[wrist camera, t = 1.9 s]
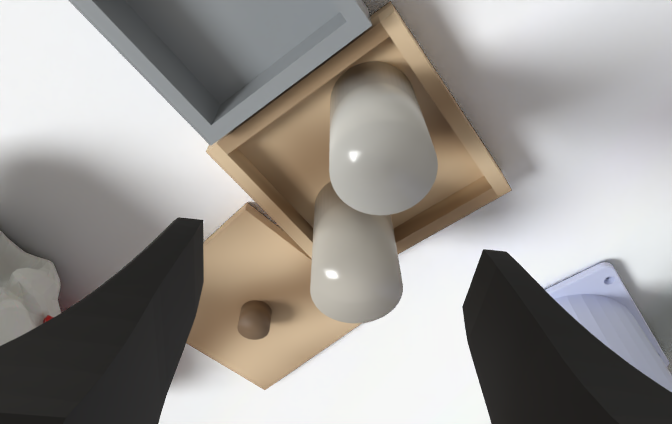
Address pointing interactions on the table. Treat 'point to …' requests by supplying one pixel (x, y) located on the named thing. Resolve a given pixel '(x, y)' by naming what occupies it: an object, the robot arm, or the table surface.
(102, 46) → the table surface
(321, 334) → the oak lid
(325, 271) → the grey capsule cylinder
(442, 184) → the oak box
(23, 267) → the white and red lump
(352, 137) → the pale grey capsule
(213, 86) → the slate dish
